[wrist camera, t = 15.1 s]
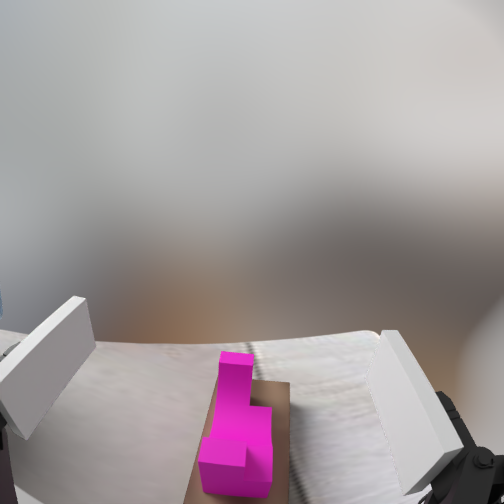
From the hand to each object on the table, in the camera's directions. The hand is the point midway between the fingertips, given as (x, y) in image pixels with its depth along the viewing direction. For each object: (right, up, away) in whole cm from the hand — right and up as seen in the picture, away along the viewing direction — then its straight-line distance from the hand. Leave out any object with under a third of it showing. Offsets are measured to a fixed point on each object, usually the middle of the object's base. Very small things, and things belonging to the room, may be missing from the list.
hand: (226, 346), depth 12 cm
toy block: (0, -18, +16) cm, 24 cm away
